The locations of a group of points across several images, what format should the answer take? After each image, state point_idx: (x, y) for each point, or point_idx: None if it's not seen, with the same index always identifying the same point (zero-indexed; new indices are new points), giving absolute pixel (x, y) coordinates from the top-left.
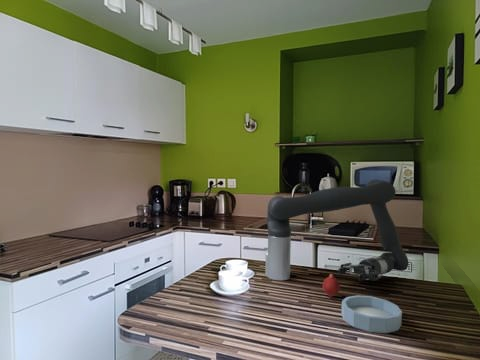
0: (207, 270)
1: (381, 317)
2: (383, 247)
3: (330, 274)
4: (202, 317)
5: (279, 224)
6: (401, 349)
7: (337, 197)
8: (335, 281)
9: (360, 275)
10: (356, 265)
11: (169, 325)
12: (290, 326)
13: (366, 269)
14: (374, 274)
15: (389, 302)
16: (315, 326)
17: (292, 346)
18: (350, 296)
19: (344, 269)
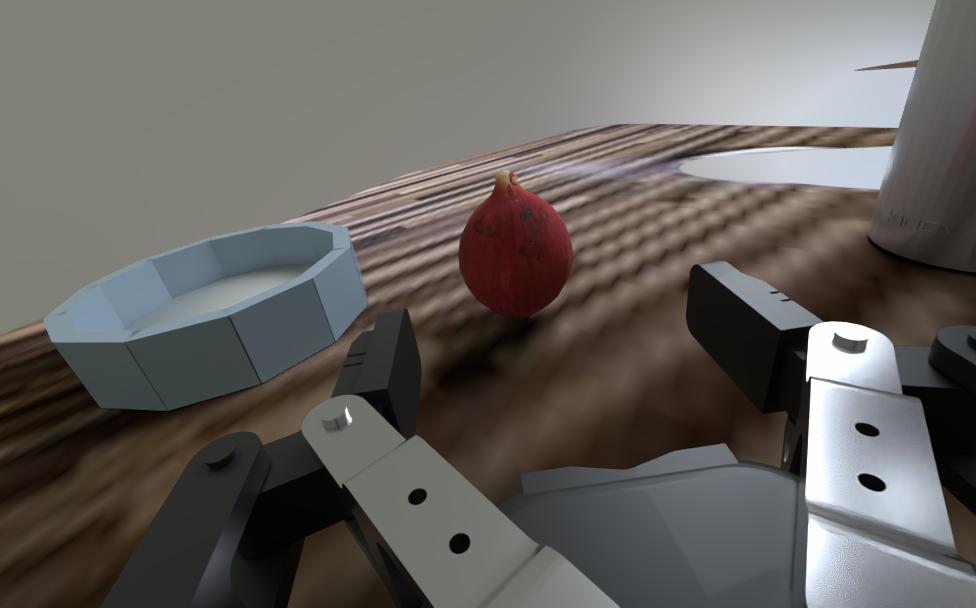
0: None
1: (163, 254)
2: None
3: (505, 170)
4: (559, 152)
5: None
6: None
7: None
8: (471, 216)
9: (380, 317)
10: (841, 498)
11: (552, 142)
12: (424, 204)
13: (400, 467)
14: (190, 471)
15: (100, 336)
16: (380, 226)
17: (367, 198)
18: (338, 256)
19: (750, 337)
